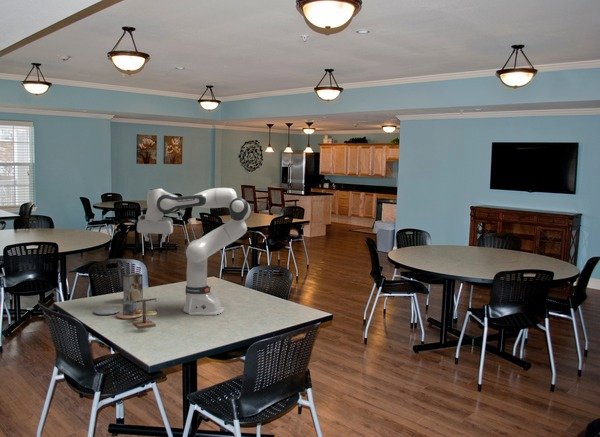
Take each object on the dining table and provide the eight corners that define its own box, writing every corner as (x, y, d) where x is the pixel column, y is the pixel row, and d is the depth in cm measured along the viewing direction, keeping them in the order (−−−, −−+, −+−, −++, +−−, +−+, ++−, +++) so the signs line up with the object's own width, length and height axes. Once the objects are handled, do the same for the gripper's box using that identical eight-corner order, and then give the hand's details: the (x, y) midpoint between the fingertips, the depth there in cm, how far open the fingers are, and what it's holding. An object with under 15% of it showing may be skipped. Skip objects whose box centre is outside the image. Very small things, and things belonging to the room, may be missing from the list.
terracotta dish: (146, 313, 279) (146, 311, 279) (135, 320, 267) (135, 318, 266) (123, 312, 281) (123, 310, 281) (111, 318, 268) (111, 316, 268)
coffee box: (136, 299, 310) (136, 272, 308) (143, 301, 306) (143, 274, 304) (123, 302, 302) (122, 274, 301) (129, 304, 298) (129, 276, 297)
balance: (160, 329, 252) (160, 298, 251) (144, 332, 248) (144, 301, 246) (143, 318, 271) (143, 289, 269) (128, 320, 266) (128, 291, 264)
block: (136, 313, 276) (136, 302, 275) (132, 315, 271) (132, 304, 270) (127, 312, 276) (127, 301, 276) (123, 315, 272) (122, 303, 271)
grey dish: (123, 310, 285) (123, 308, 285) (112, 316, 272) (112, 314, 272) (101, 308, 287) (101, 306, 287) (89, 314, 274) (88, 312, 274)
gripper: (174, 217, 293) (174, 241, 294) (140, 215, 296) (140, 239, 297) (170, 218, 287) (170, 242, 288) (135, 216, 290) (135, 241, 291)
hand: (155, 241), depth 293 cm, fingers open, 8 cm apart
